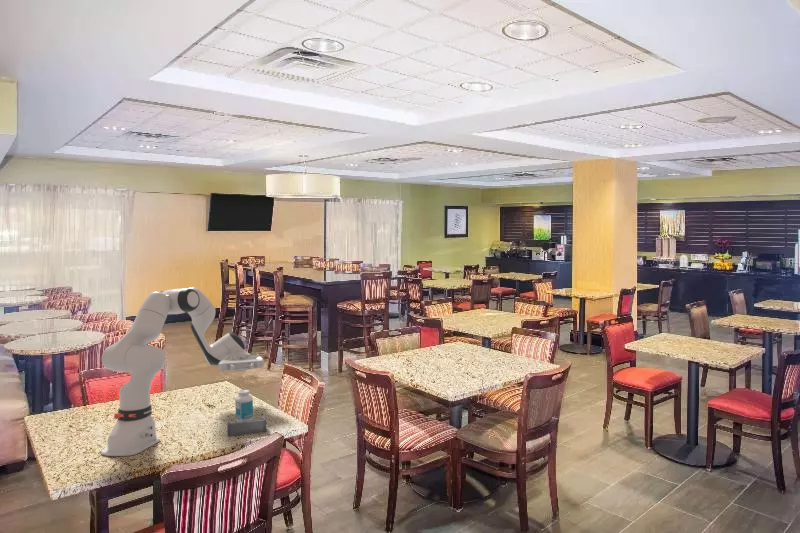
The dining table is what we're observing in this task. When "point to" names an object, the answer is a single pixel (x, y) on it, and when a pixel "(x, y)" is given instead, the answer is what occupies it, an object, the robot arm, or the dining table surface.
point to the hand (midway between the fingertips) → (242, 368)
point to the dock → (246, 427)
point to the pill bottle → (244, 406)
